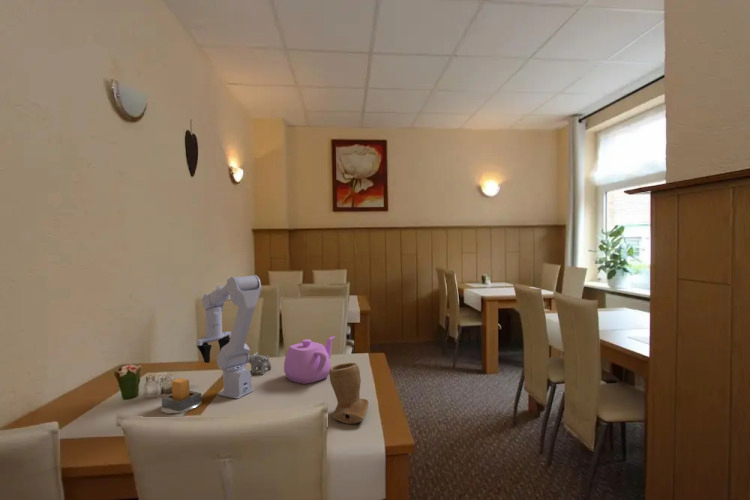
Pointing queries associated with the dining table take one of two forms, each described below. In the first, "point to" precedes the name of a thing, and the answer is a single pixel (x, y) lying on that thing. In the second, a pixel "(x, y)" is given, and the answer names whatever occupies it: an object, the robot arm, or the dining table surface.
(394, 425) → the dining table surface
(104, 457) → the dining table surface
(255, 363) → the gray elephant figurine
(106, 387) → the dining table surface
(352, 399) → the clay pipe bowl
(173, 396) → the rectangular block
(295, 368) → the teapot
